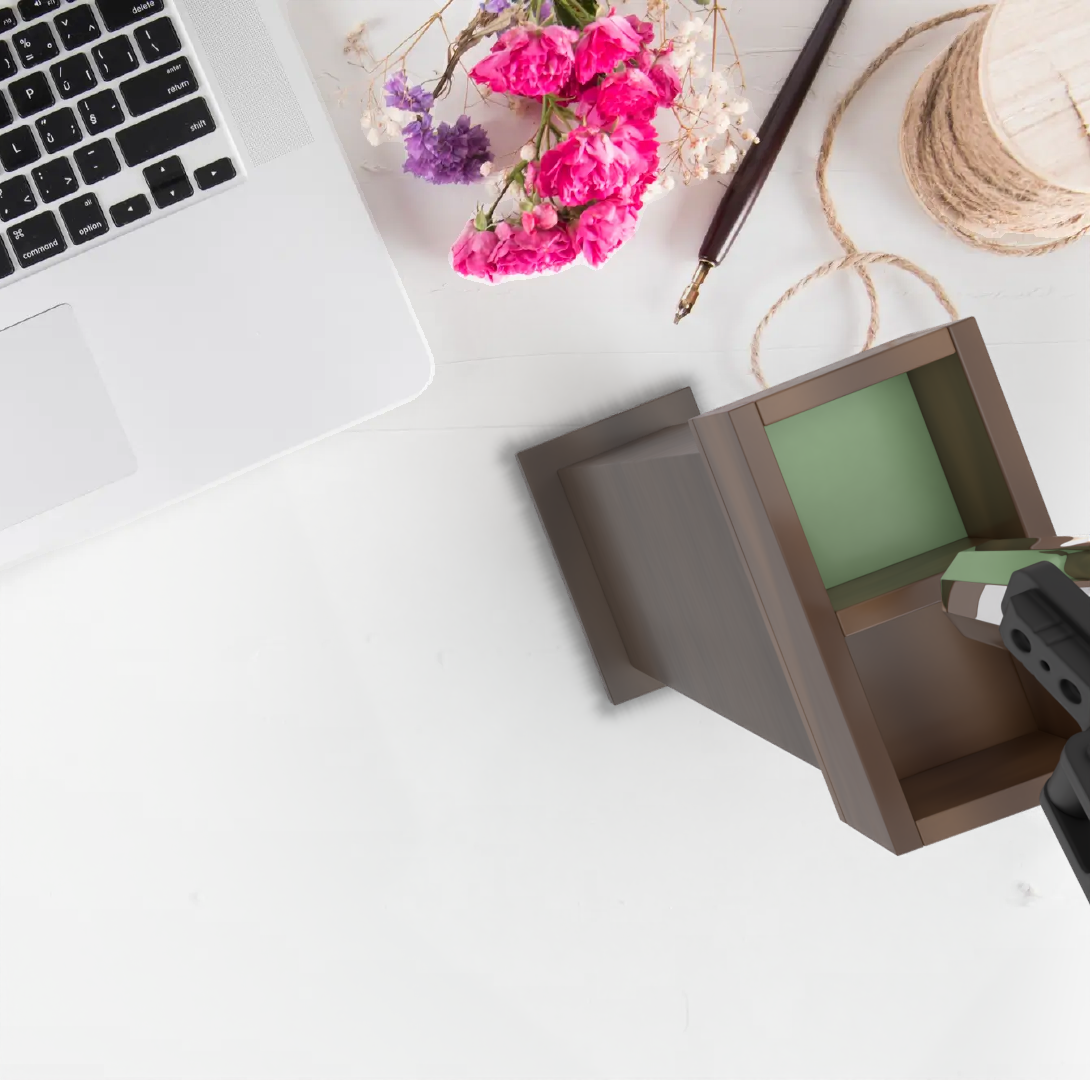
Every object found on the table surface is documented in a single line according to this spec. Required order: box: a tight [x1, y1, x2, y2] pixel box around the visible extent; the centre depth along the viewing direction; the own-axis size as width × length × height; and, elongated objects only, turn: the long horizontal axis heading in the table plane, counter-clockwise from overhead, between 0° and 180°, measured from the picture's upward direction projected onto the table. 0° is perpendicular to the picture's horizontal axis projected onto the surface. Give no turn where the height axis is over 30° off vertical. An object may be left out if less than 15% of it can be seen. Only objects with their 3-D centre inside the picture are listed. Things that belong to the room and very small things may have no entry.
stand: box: [514, 385, 821, 771], centre depth 54 cm, size 12×18×28 cm, turn 21°
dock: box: [688, 315, 1083, 857], centre depth 38 cm, size 9×17×4 cm, turn 21°
